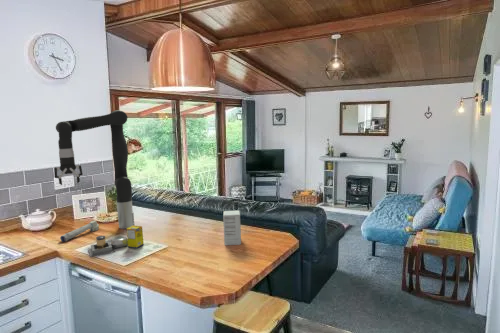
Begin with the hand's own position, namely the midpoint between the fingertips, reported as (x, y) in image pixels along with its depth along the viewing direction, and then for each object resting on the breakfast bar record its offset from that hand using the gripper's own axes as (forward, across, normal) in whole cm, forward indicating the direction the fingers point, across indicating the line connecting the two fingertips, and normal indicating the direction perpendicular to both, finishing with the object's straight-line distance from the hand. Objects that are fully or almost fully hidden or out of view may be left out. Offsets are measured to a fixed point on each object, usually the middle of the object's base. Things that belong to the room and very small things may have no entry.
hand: (69, 183), depth 196 cm
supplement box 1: (+33, -28, +35) cm, 56 cm away
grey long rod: (+34, -3, -5) cm, 34 cm away
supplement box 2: (+33, -75, +60) cm, 102 cm away
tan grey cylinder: (+32, -11, +31) cm, 46 cm away
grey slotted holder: (+33, -14, +31) cm, 48 cm away
